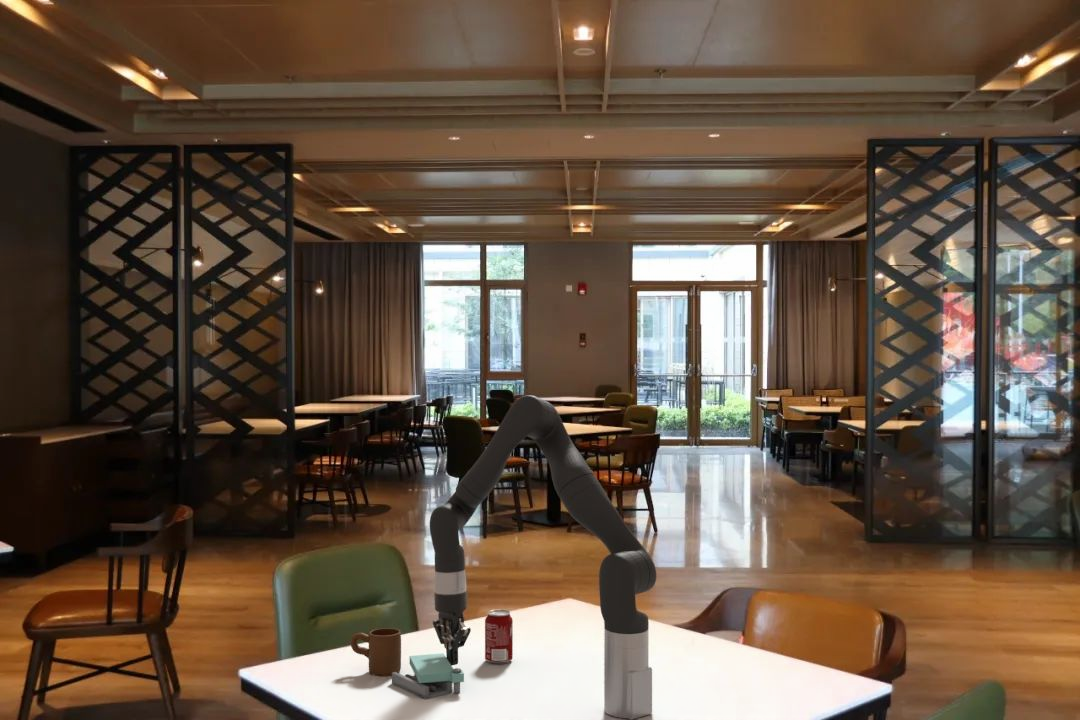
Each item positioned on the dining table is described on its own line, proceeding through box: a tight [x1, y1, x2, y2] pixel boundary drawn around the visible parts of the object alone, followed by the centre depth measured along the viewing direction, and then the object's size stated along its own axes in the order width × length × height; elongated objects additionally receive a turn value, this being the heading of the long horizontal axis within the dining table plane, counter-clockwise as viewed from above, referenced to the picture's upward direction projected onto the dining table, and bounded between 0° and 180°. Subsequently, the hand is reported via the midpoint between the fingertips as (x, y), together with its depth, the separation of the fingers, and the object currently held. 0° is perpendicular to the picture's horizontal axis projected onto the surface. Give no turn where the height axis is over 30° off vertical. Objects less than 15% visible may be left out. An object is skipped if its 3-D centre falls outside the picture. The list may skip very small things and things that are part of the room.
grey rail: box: [391, 672, 461, 700], centre depth 217 cm, size 16×8×2 cm, turn 39°
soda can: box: [484, 609, 514, 665], centre depth 237 cm, size 7×7×12 cm
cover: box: [409, 652, 465, 684], centre depth 219 cm, size 17×10×2 cm, turn 16°
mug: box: [349, 627, 402, 677], centre depth 229 cm, size 12×8×9 cm, turn 89°
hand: (452, 664), depth 225 cm, fingers closed
